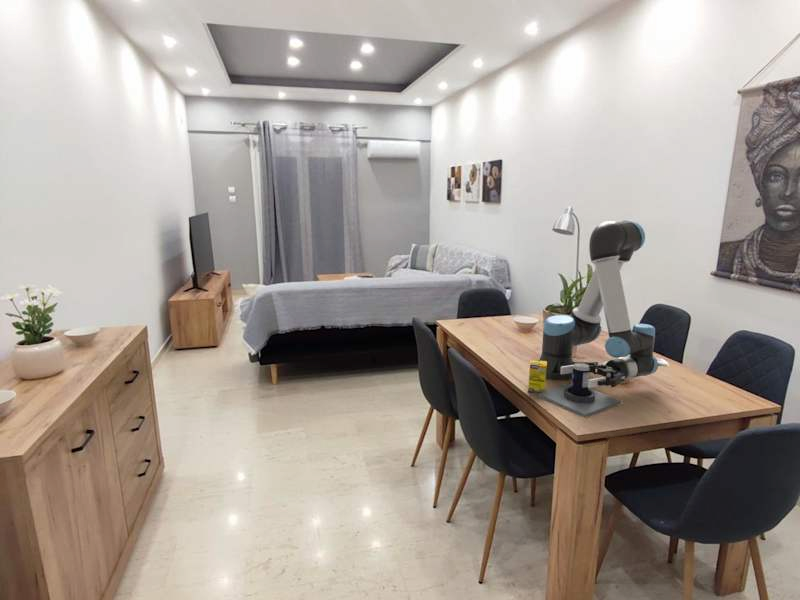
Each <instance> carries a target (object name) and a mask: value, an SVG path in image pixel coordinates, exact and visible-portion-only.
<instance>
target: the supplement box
mask: <svg viewBox="0 0 800 600" xmlns="http://www.w3.org/2000/svg"><path fill="white" fill-rule="evenodd" d="M529 364H530V365H529V372H528V373H529V374H528V375H529V376H528V385H527V386H528V389H527V392H528V393H534V392H538V393H541V392H545V391H546V381H547V380H546V379H547V378H546V369H547V361H539V359H538V360H536V359H530V363H529ZM538 393H537V394H538Z"/></svg>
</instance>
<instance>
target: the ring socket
mask: <svg viewBox="0 0 800 600" xmlns="http://www.w3.org/2000/svg"><path fill="white" fill-rule="evenodd" d="M571 385H572V382H571V383H568V384H565V385H561V386H558V387H555V388H552V389H548V390H545V392H541V393H537V397H538V396H540V397H539V398H541V397H542V398H541V399H543V398H544V399H543V400H545V399H546V400H545V401H547V400H548V402H550V401H551V402H550V403H552V402H553V403H552V404H554V403H555V405H556V404H557V406H559V407H561V408H563V407H564V409H566V410H568V411H570V412H572V411H573V412H572V413H574V412H575V414H577V415H580V416H581V415H582V416H581V417H583V416H584V417H583V418H587V417H589V416H592V415H594V414H597V412H598V413H600V412H602V411H605V410H609V409H611V408H613V407H617V406H618V405H621V404H622V403H623V401H622V400H620V399H618V398H615V397H612V396H610V395H607V394H605V393H603V392H600V391H598V390H595V389H592V388H589V389H588V396H582V397H581V396H576V395H573V394H571Z"/></svg>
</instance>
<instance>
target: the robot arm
mask: <svg viewBox="0 0 800 600" xmlns="http://www.w3.org/2000/svg"><path fill="white" fill-rule="evenodd" d="M645 240H646V233H645V230H644V228H643V227H642V226H641V225H640V224H639V223H638V222H636V221H633V220H627V219H625V220H617V221H615V220H614V221H613V220H611V221H609V220H608V221H604V222H601V223H600V224H598V225H597V226H596V227H595V228H594V229H593V231H592V232H591V235H590V237H589V242H588V243H589V246H588V247H589V257H590V262H591V263H592V264H593V265H594V266H595V269H594V270H593V272H592V275H591V278H590V280H589V282H588V284H587V287H586V289H585V291H584V294H583V295H582V298H581V300H580V302H579V305H578V306H577V307H573V309H572V311H571V313H570V315H565V314H564V315H563V314H560V315H556V314H555V315H551V316H548V317H547V318H546V319H545V320H544V322H543V327H542V345H541V346H542V348H541V355H540V358H539V359H538V361H547V369H546V379H549V378H550V380H557V381H568V380H572V372H573V366H574V364H575V363H585V364H588V365H589V368H590V373H592V374H593V375H599V376H601V377H597V378H591V379H590V378H589V380H588V388H589V389H592V388H596V387H602V386H606V387H609V386H610V387H611V388H613V389H614V388H615V387H617V386H618V385H619V384H620V383H621V382H624V381H626V380H627V379H631V378H637V377H646V376H648V375H653V374H655V373H656V372H657V370H658V369H659V365H658V363H657V359H656V357H655V356H654V355H653V353H654V347H655V338H656V328H655V326H654V325H651V324H647V323H635V324H633V326H632V325H631V323H630V317H629V312H628V307H627V302H626V296H625V291H624V286H623V281H622V275H621V270H622V267H623V265H624V264H625V263H628V262H630V261H631V258H632V256H633V254H634V253H635V252H637V251H639V250H640V249H641V248H642V247H643V246H644V244H645V242H646V241H645ZM602 310H603V312H604V316H605V322H606V326H607V331H608V337H609V338H607V339H606V341H605V344H604V348H605V352H606V354H608V355H609V357H612V358H615V359H610V360H608V361H607V362H606V363H605V364H603V363H602V364H599V362H597V361H593V362H591V361H583V362H582V361H574V360H573V347H575V346H581V345H584V344H590V343H591V342H593V341H596V340H597V339H598V338H599V337H600V335H601V333H602V326H601V324H602V323H601V322H602V318H601V316H600V314H601V312H602ZM628 355H630V357H626V358H620V359H619V357H625V356H628Z"/></svg>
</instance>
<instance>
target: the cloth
mask: <svg viewBox="0 0 800 600" xmlns="http://www.w3.org/2000/svg"><path fill="white" fill-rule="evenodd" d="M626 357H630V355H628V356H625V357H619V358H618V359H620V358H626ZM655 358H656V357H655ZM656 359H657V363H658V366H661V365H667V366H666V367H670V364H669V362H668V361H666V359H664V358H658V357H657V358H656Z"/></svg>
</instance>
